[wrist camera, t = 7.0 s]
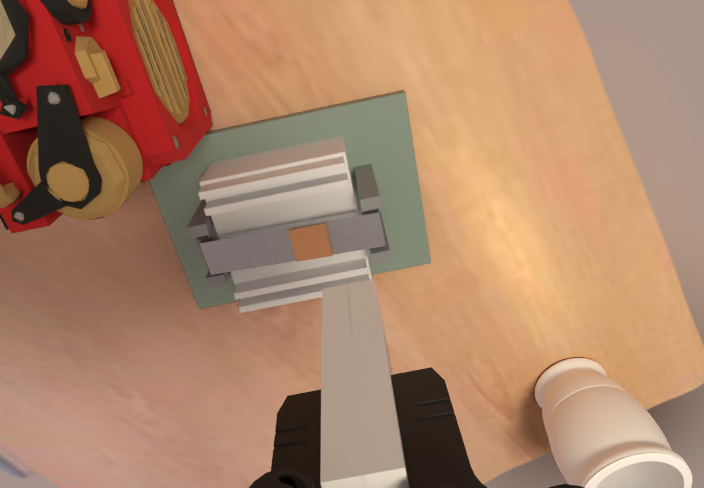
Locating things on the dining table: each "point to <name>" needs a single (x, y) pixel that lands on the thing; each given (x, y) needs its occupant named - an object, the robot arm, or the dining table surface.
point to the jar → (604, 431)
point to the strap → (292, 242)
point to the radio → (91, 105)
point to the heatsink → (297, 197)
